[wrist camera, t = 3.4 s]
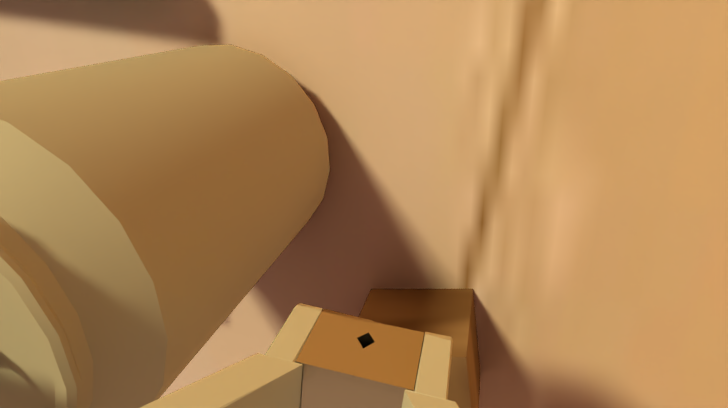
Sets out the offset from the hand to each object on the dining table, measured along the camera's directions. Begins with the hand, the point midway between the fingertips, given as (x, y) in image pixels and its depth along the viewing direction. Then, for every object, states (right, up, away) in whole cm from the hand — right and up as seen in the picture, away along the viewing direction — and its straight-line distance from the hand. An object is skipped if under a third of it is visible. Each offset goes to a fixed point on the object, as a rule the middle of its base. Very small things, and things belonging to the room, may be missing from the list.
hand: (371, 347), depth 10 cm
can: (-5, +5, +9) cm, 12 cm away
